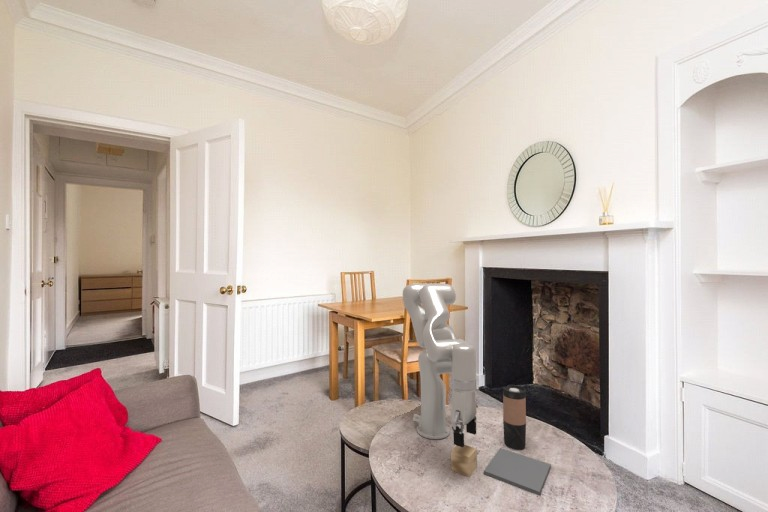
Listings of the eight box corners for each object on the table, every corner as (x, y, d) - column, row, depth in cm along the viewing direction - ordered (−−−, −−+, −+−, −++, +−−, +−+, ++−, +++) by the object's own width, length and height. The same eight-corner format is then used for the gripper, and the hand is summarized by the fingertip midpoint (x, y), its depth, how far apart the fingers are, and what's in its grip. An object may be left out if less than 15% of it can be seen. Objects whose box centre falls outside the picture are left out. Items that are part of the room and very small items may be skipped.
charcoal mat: (483, 474, 103) (483, 470, 103) (500, 450, 116) (500, 447, 116) (539, 495, 94) (539, 491, 94) (550, 467, 107) (550, 464, 107)
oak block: (451, 470, 105) (451, 450, 105) (459, 461, 110) (459, 442, 110) (469, 477, 102) (469, 457, 102) (476, 467, 107) (476, 448, 107)
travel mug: (528, 451, 115) (527, 393, 116) (505, 449, 117) (504, 391, 117) (523, 440, 123) (523, 385, 123) (501, 438, 124) (501, 383, 125)
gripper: (463, 375, 115) (465, 426, 114) (441, 389, 102) (442, 447, 101) (485, 379, 111) (486, 431, 110) (464, 394, 97) (465, 455, 96)
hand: (465, 439), depth 105 cm, fingers open, 9 cm apart
